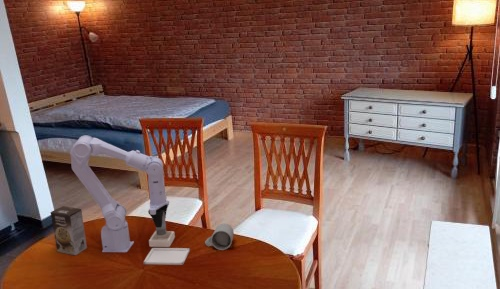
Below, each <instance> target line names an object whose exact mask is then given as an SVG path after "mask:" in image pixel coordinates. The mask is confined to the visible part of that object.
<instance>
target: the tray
mask: <svg viewBox="0 0 500 289" xmlns="http://www.w3.org/2000/svg"><path fill="white" fill-rule="evenodd" d="M190 252H191V248H190V247H189V248H186V247H185V248H183V247H180V248H179V247H172V248H171V247H151V249H150V251H149V252H148V254H147V255H146V257H145V259H144V260H143V262H142V263H143V264H142V265H166V266H167V265H169V266H171V265H173V266H174V265H175V266H177V265H178V266H184V263H185V262H186V259H187V257H188V255H189V253H190Z"/></svg>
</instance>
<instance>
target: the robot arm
mask: <svg viewBox="0 0 500 289" xmlns="http://www.w3.org/2000/svg"><path fill="white" fill-rule="evenodd" d="M91 154H92V157H96V156H100V155H105V156H108V157H112V158H114V159H118V160H122V161H124V162H125V165H126V166H128V167H130V168H134V169H136V170H139V171H142V172H146V175H147V177H148V180H147V184H148V193H149V207H150V208H149V209H148V211H147V212H148V215H149V216H150V217H151V219H152V221H153V223H154V226H155V228H156V227H162V217H163V213H164V214H165V219H166V218H167V217H166V216H167V211H168V207H169V205H170V200H167V198H168V196H167V194H166V187H165V177H164V163H163V161H162V159H161V158H160V157H158V156H152V155H150V156H149V155H146V154H144V153H141V151H140V150H138V149H136V150H131V151H126V150H124V149H122V148H119V147H117V146H115V145H113V144H111V143H108V142H106V141H104V140H102V139H99V138H97V137H92V136H91V135H86V134H85V135H82V136H79V138H78V139H77V141H76V142H75V143H73V145H72V147H71V149H70V152H69V156H70V160H71V161H70V162H71V163H70V164H71V170H72V171H73V172H74V174H75V175H76V177H77V178H78V179H79V181H80V182H81V183H82V185H83V186H84V187H85V189H86V190H87V191H88V193H89V195H90V196H91V198H93V200H94V201H95V203H96V205H98V207H99V208H100V210H101V212H102V213H101V214H102V217H103V219H104V220H105V225H103V226H102V227H101V231H100V238H101V246H102V251H101V252H102V253H127V252H128V251H130V249H131V247H132V246H133V245H134V243H135V241H134V240H133V241H131V238H130V232H129V225H128V224H129V223H128V221H127V220H126V216H127V209H126V207H125V206H124V205H123V204H120V203H119V201H117V200H116V199H113V197H112V196H111V194H110V193H109V192H108V190H107V189H106V188H105V186H104V184H102V182H101V181H100V179H99V178H98V176H97V175H96V173H94V171H93V170H92V168H91V166H90V165H89V161H90V158H91ZM160 209H163V210H160Z"/></svg>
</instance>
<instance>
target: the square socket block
mask: <svg viewBox="0 0 500 289" xmlns="http://www.w3.org/2000/svg"><path fill="white" fill-rule="evenodd" d="M175 234H176V233H175V231H172V230H171V231H168V230H166V234H165V235H157V233H156V230H154V232H153V233H152V235H151V236H150V239H148V245H149V247H150V248H171V245H172V243H173V242H174V240H175V238H176V235H175Z"/></svg>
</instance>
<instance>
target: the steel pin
mask: <svg viewBox="0 0 500 289" xmlns="http://www.w3.org/2000/svg"><path fill="white" fill-rule="evenodd" d="M160 210H163V209H160ZM155 231H156V233H157V235H165V234H166V231H167V225H166V218H165V214H164V213H163V217H162V227H156V226H155Z"/></svg>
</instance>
